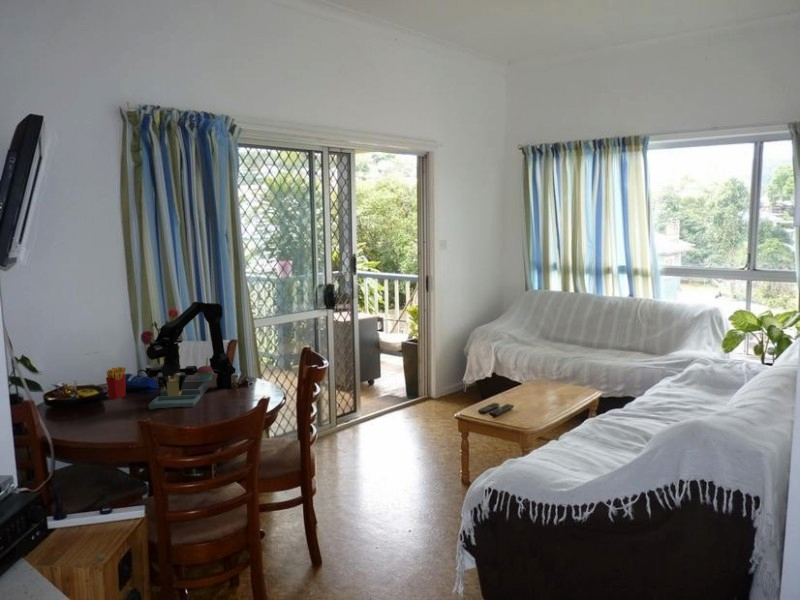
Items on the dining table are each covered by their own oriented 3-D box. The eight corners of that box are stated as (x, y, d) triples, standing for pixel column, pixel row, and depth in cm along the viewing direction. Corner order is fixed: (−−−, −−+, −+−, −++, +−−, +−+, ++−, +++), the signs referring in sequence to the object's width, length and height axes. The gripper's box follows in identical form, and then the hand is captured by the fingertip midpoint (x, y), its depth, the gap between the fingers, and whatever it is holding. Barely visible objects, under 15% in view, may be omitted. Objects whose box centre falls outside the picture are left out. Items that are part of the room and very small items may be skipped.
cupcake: (218, 379, 306) (217, 354, 305) (206, 383, 299) (205, 358, 297) (204, 377, 310) (203, 353, 308) (192, 381, 302) (190, 357, 301)
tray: (200, 399, 272) (200, 394, 272) (193, 407, 260) (193, 402, 260) (157, 401, 271) (157, 396, 270) (148, 409, 259) (148, 404, 259)
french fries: (112, 400, 274) (110, 370, 272) (105, 399, 276) (103, 370, 274) (129, 394, 282) (127, 366, 281) (122, 393, 284) (120, 365, 282)
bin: (209, 387, 291) (208, 379, 291) (200, 397, 274) (200, 389, 274) (171, 388, 290) (170, 381, 290) (160, 399, 273) (159, 391, 273)
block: (181, 393, 267) (180, 379, 267) (178, 396, 263) (177, 382, 262) (170, 393, 267) (169, 379, 266) (167, 396, 263) (166, 382, 262)
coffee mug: (170, 384, 298) (168, 363, 297) (161, 389, 290) (159, 368, 289) (146, 384, 300) (144, 363, 298) (137, 389, 291) (135, 368, 290)
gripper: (142, 360, 254) (145, 397, 256) (189, 358, 256) (192, 395, 258) (151, 354, 265) (153, 390, 267) (196, 352, 267) (198, 388, 269)
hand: (174, 391), depth 265 cm, fingers closed on block, 4 cm apart
